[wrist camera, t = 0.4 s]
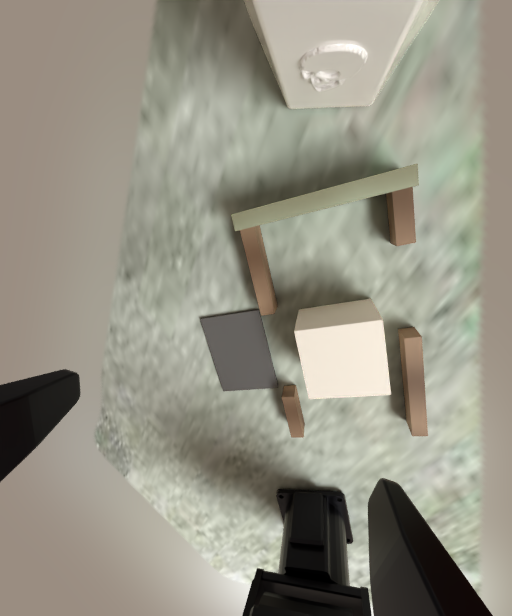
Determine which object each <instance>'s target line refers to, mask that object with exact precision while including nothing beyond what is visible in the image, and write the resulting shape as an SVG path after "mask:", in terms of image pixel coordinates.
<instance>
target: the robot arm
mask: <svg viewBox="0 0 512 616" xmlns="http://www.w3.org/2000/svg"><path fill="white" fill-rule="evenodd" d="M79 397H80V382H79V375H78V374H77V373H75V372H73V371H70V370H66V369H65V370H59V371H55V372H51V373H47V374H43V375H39V376H35V377H31V378H27V379H23V380H19V381H15V382H11V383H7V384H3V385H0V482H1V481H2V480H3V479H4V478H5V477H6V476H7V475H8V474H9V473H10V472H11V471H12V470H13V469H14V468H15V467H17V466H18V465H19V464H20V463H21V462H22V461H23V460H24V459H25V458H26V457H27V456H28V455H29V454H30V453H31V452H32V451H33V450H34V449H35V448H36V447H37V446H38V445H39V444H40V443H41V442H42V441H43V440H44V438H45V437H46V436H47V435H48V434H49V433H50V432H51V431H52V430H53V428H54V427H55V426H56V425H57V424H58V423H59V422H60V421H61V419H62V418H63V417H64V416H65V415H66V414H67V413H68V412H69V410H70V409H71V408H72V407H73V406H74V405H75V404H76V403H77V401H78V400H79ZM276 497H277V500H278V503H279V507H280V510H281V513H282V517H283V520H284V529H283V538H282V546H281V555H280V563H279V572H278V573H273V572H268V571H264V569H259V568H257V571H256V574H255V578H254V579H253V581H252V584H251V588H250V591H249V595H248V598H247V602H246V605H245V609H244V612H243V616H371V608H370V601H369V593H368V588H366V587H361V586H360V588H357V587H351V586H350V583H349V570H348V557H347V544H351V543H352V542H353V536H352V531H351V526H350V520H349V515H348V510H347V505H346V499H345V495H344V494H343V493H341V492H332V491H311V490H290V489H279V490H277V495H276ZM368 530H369V565H370V584H371V594H372V603H373V612H374V616H493V615H492V614H491V613H490V611H489V610H488V608H487V607H486V606H485V604H484V603H483V601H482V600H481V598H480V597H479V596H478V594H477V593H476V591H475V590H474V589H473V587H472V586H471V584H470V583H469V582H468V580H467V579H466V577H465V576H464V575H463V573H462V572H461V570H460V569H459V568H458V566H457V565H456V563H455V562H454V561H453V559H452V558H451V556H450V555H449V554H448V552H447V551H446V549H445V548H444V546H443V545H442V544H441V542H440V541H439V539H438V538H437V537H436V535H435V534H434V532H433V531H432V530H431V528H430V527H429V525H428V524H427V523H426V521H425V520H424V518H423V517H422V516H421V514H420V513H419V511H418V510H417V509H416V507H415V506H414V504H413V503H412V502H411V500H410V499H409V497H408V496H407V495H406V493H405V492H404V490H403V489H402V487H401V486H400V485H399V484H398V483H396V482H393V481H390V480H387V479H385V478H381V479H380V480H379V481H378V483H377V485H376V486H375V488H374V490H373V492H372V494H371V496H370V498H369V502H368Z"/></svg>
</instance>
